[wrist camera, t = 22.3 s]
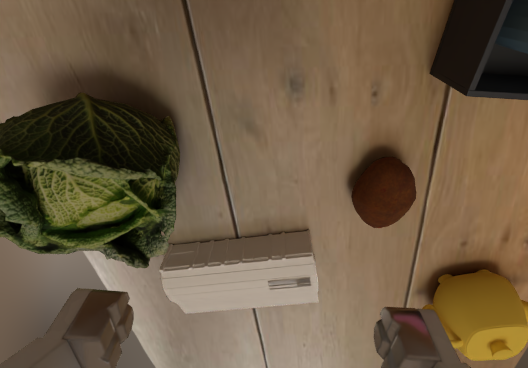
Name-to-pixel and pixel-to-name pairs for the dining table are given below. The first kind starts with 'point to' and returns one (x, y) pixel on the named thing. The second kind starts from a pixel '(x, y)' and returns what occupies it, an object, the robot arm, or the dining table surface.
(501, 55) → the box
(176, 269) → the white box
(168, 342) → the dining table surface
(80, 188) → the vegetable
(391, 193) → the potato
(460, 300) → the teapot
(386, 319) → the robot arm
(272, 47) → the dining table surface
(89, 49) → the dining table surface
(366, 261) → the dining table surface
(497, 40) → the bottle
